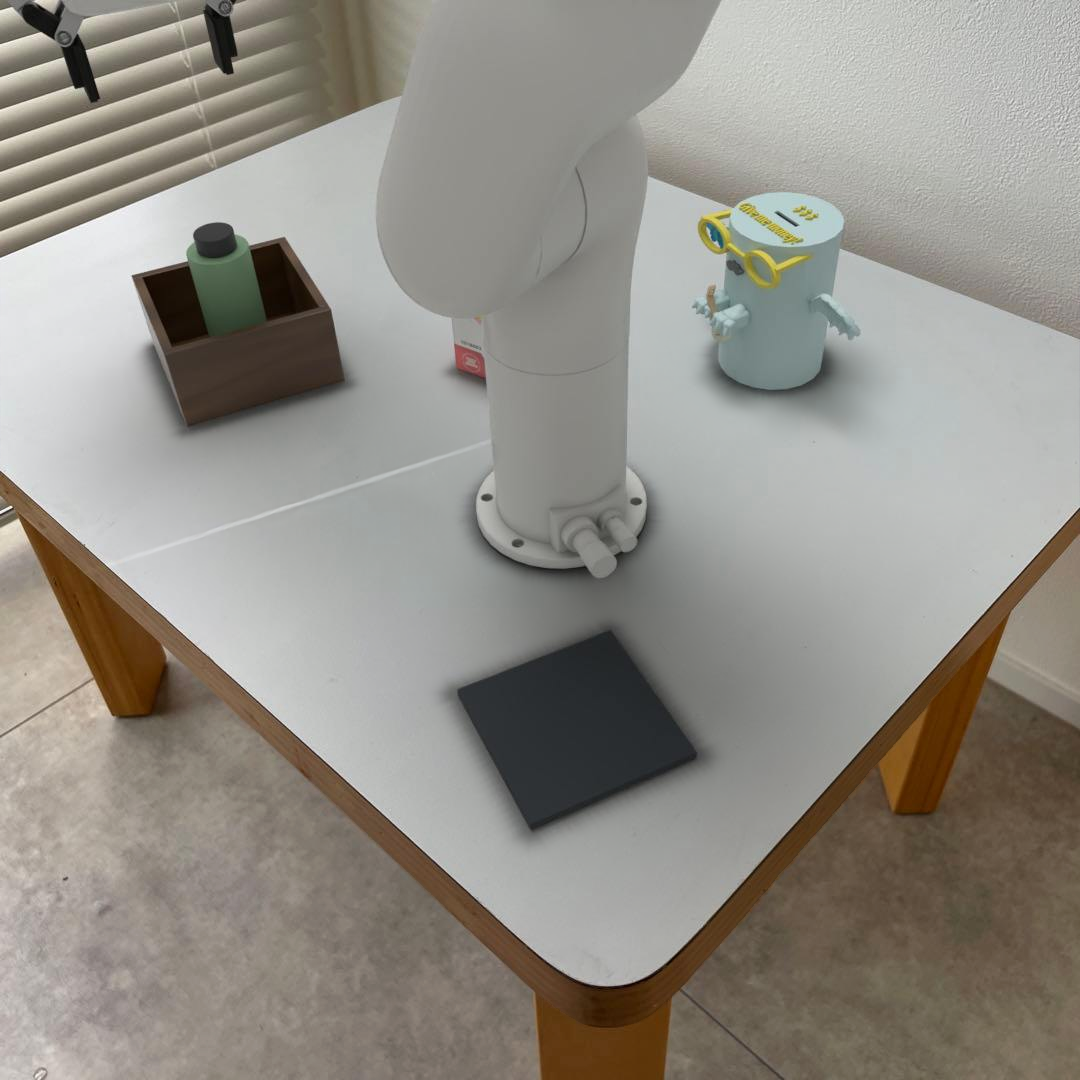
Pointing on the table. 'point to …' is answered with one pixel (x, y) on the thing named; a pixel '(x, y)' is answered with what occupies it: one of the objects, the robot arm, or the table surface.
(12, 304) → the table surface
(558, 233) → the robot arm
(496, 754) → the mat
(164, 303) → the open box
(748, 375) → the character sculpture
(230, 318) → the bottle
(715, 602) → the table surface
